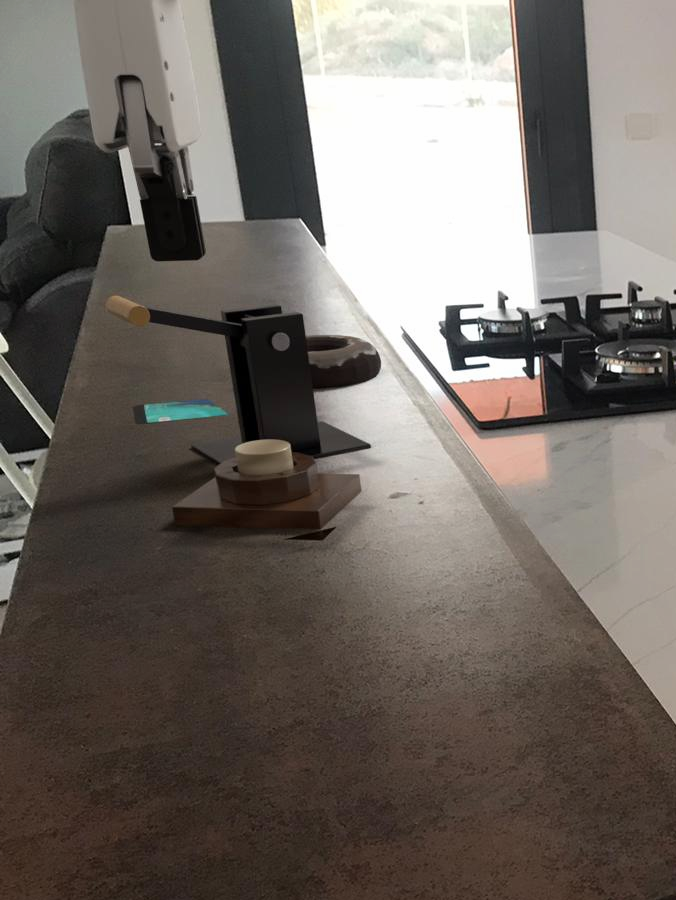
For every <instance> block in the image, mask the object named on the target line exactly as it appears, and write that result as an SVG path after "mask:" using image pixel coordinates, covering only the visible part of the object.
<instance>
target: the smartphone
mask: <svg viewBox="0 0 676 900" xmlns="http://www.w3.org/2000/svg"><path fill="white" fill-rule="evenodd" d="M132 411H133V418H134V423H135V424H136V425H147V424H148V425H149V424H159V423H167V422H168V423H169V422H177V421H188V420H197V419H198V420H199V419H206V418H216V417H225V416H230V414H229V413H228V412H226V411H225V410H224V409H223V408H221V407H219V406H218V405H216V404H215V403H214V402H213V401H211V400H210V399H209V398H202V399H190V400H188V399H187V400H179V401H177V400H176V401H167V402H157V403H146V404H137V405H134V406H132Z"/></svg>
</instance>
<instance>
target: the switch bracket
mask: <svg viewBox="0 0 676 900" xmlns="http://www.w3.org/2000/svg"><path fill="white" fill-rule="evenodd" d="M220 315H221V320H223V321H228V322H234V323H239V324H242V329H243V335H244V342H245V347H243V346H241V345H239V344H240V338H237V337H231V336H225V335H224V340H225V346H226V353H227V360H228V364H229V370H230V372H229V373H230V377H231V383H232V390H233V395H234V402H235V408H236V414H237V421H238V426H239V427H238V428H239V432H240V433H239V434H240V435H238V436H231V437H227V438H221V439H215V440H209V441H204V442H199V443H193V444H191V445H190V448H191V450H193V451H195V452H196V453H198V454H200V455H202V456H203V457H205V458H206V459H209V460H210V461H212V462H213V463H215V464H216V465H217V466H218V465H220V464H221V463H222V462H224V461H226V460H229V459H233V458H236V455H235V448H236V447H237V446H239V445H241V444H243V443H246V442H251V441H256V440H268V439H273V440H282V441H286V442H288V443H289V444H290V445H291V452H295V453H300V454H304V455H308V456H312V457H313V458H314V460H318V459H323V458H328V457H332V456H338V455H342V454H348V453H353V452H358V451H363V450H367V449H368V450H369V449H371V448H372V446H371V445H372V444H371V443H369V442H366V441H364V440H363V439H360V438H358V437H356V436H354V435H352V434H351V433H348V432H346V431H344V430H342V429H340V428H338V427H336V426H334V425H332V424H329V423H328V422H325V421H323V420H321V421H320V420H319V421H318V416H317V415H318V414H317V409H316V408H317V407H316V400H315V393H314V389H313V385H312V378H311V371H310V364H309V356H308V349H307V342H306V336H307V335H306V328H305V320H304V314H303V313H301V312H299V311H294V312H285V313H283V311H282V305H279V304H276V303H274V304H265V305H257V306H249V307H240V308H232V309H224V310H223V309H221V310H220ZM244 315H249V316H254V317H251V318H244Z"/></svg>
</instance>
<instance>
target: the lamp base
mask: <svg viewBox="0 0 676 900" xmlns="http://www.w3.org/2000/svg"><path fill="white" fill-rule="evenodd" d="M292 459H293V466H294V467H293V468H292V469H290V470H286V471H283V472H280V473H272V474H264V475H244V474H241V473H238V467H237V461H236V458H233V459H229V460H226V461H224V462H222V463H221V464H220V465H218V464H217V465H216V466H215V467H214V469H213V472H214V477H213V478H211V480H208V481H207V482H206V483H205V484H203V485H202V486H200V487H199V488H197V489H196V490H194V491H193V492H192V493H190V494H188V495H187V496H185V498H183V499H181V500H180V501H179V502H177V503H176V504H174V505H173V506H172V507H171V508H172V509H171V510H172V514H173V519H174V525H175V526H192V527H195V526H196V527H226V528H227V527H228V528H229V527H230V528H231V527H232V528H259V529H260V528H263V529H265V528H266V529H295V530H296V529H297V530H298V529H299V530H300V529H302V530H303V529H304V530H317V531H313V532H312V531H311V532H309V533H304V534H300V535H294V536H291V537H286V538H282V540H285V541H317V542H318V541H321V542H322V541H324V540H325V539H326V538H327V537H328V536H329V535H330V534H332V532H333V531H334V530H336V529H337V526H334V527H329V528H325V529H323V528H324V527H325V526H326V525H327V524H329V522H331V521H332V520H333V519H334V518H335V517H336V516H337V515H339V514H340V512H341V511H342V510H343V509H345V508H346V507H347V506H348V505H349V504H350V503H351V502H352V501H353V500H354V499H355V498H357V496H358V495H360V493H362V484H361V475H360V474H359V473H357V474H354V473H321V472H320V473H319V472H318V465H317V462H316V459H314V458H313V457H312V456H308V455H304V454H300V453H295V452H292Z"/></svg>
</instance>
